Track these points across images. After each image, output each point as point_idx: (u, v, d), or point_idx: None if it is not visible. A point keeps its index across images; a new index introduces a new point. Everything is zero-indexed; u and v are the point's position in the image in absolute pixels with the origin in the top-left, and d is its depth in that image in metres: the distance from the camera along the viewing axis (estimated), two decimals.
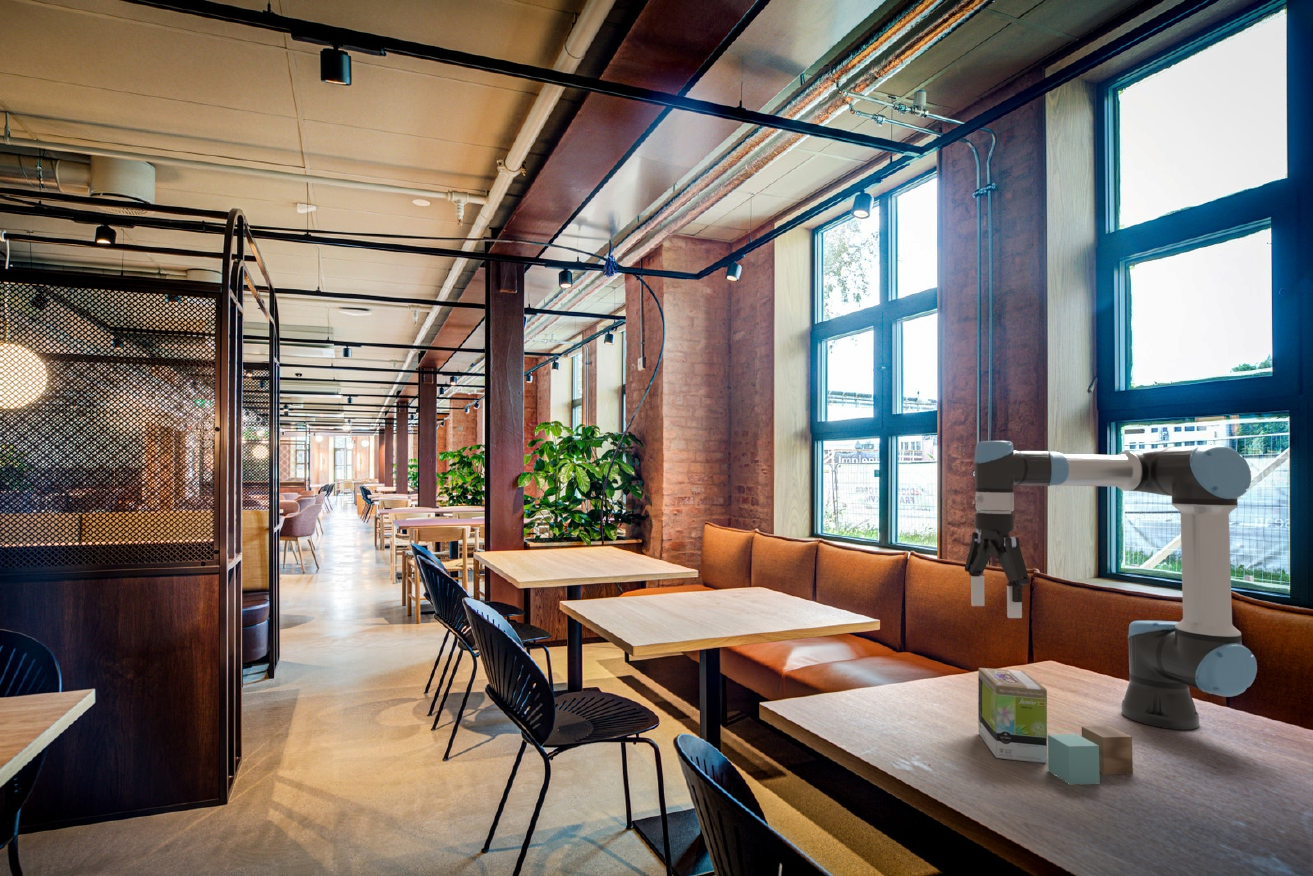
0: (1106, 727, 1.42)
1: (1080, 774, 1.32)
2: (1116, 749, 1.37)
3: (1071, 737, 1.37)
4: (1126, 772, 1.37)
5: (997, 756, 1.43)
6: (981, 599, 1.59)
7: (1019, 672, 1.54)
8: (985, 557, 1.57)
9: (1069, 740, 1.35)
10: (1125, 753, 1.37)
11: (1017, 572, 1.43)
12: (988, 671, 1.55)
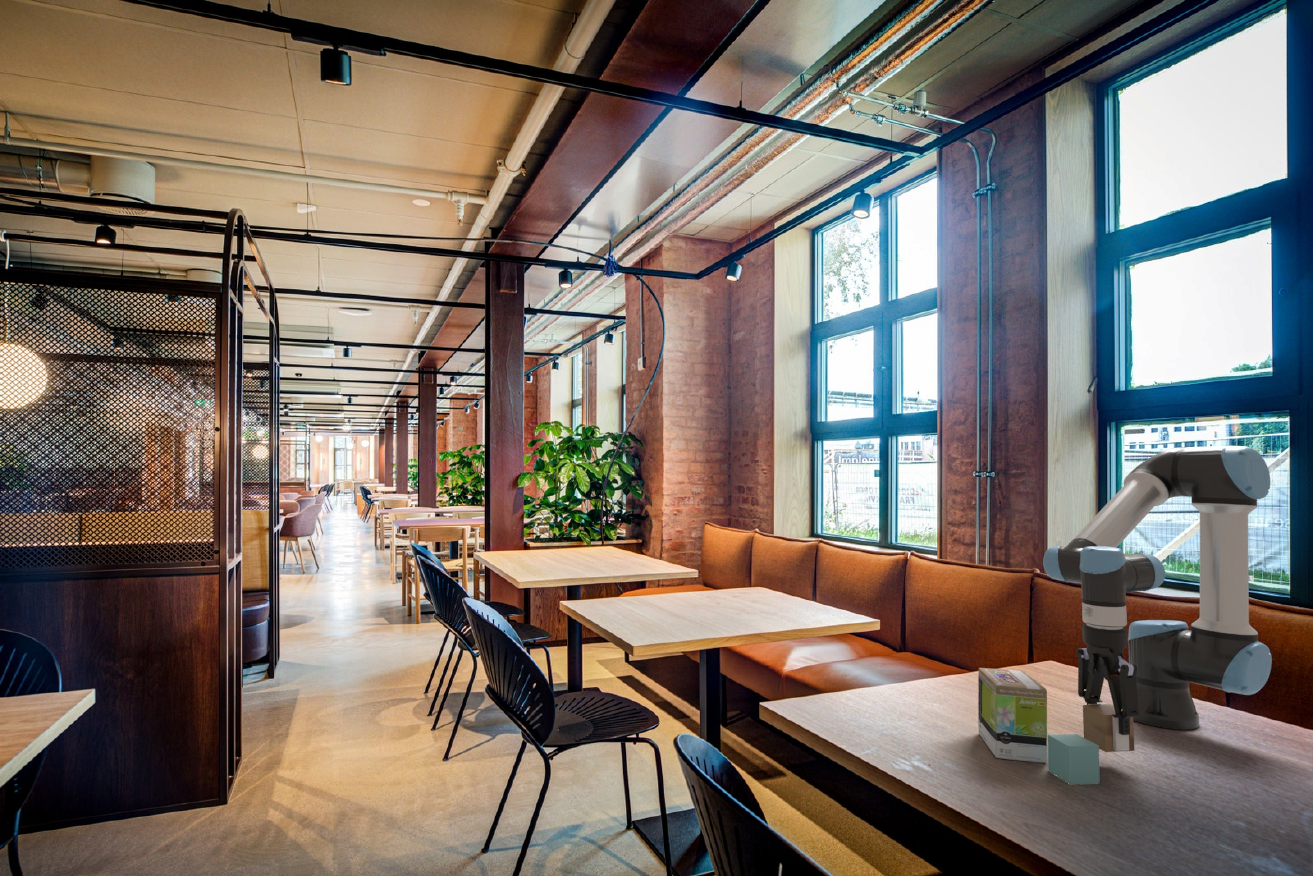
0: (1107, 705, 1.43)
1: (1080, 774, 1.32)
2: None
3: (1071, 737, 1.37)
4: None
5: (997, 756, 1.43)
6: None
7: (1019, 672, 1.54)
8: (1099, 677, 1.43)
9: (1069, 740, 1.35)
10: None
11: (1127, 706, 1.34)
12: (988, 671, 1.55)
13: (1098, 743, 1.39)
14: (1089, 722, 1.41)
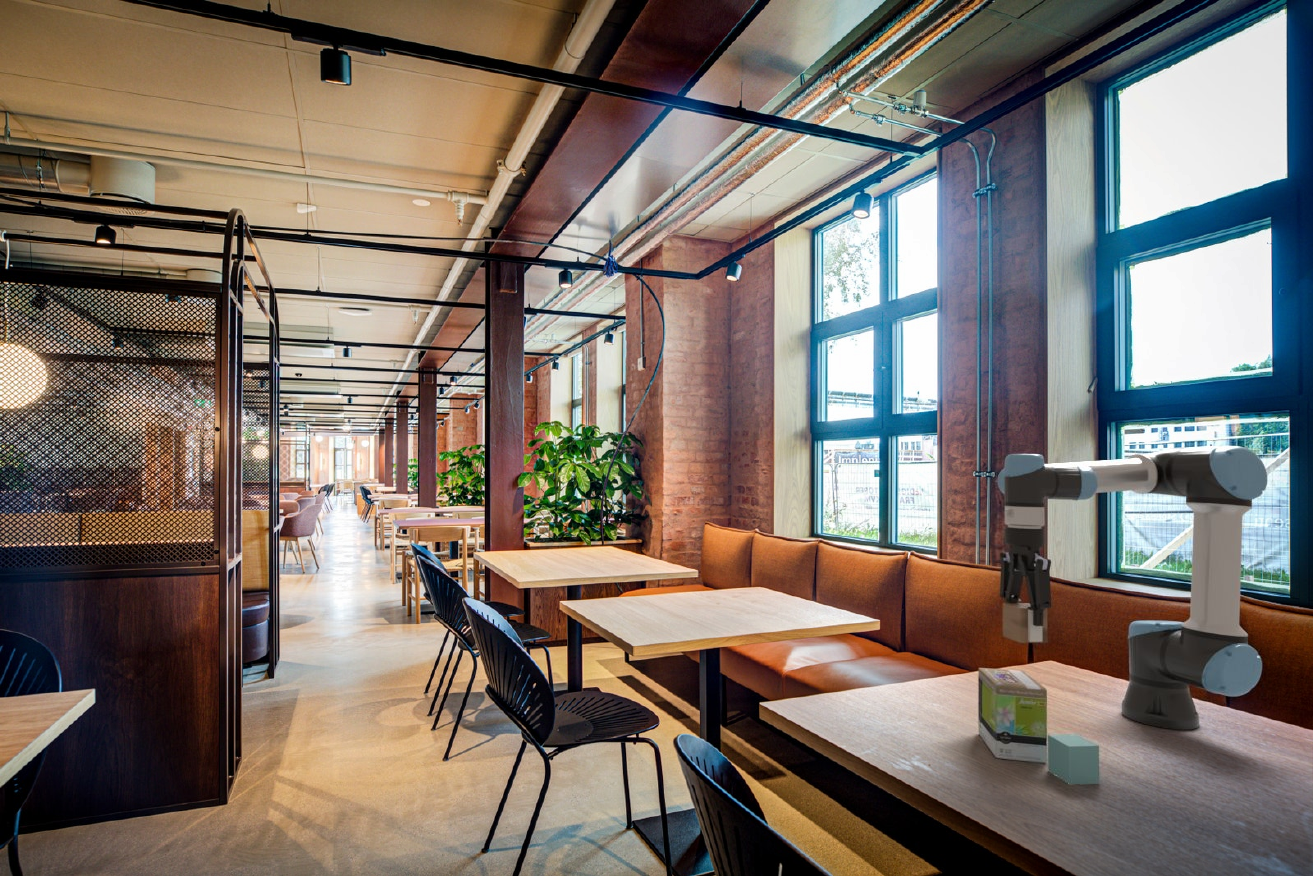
0: (1025, 603, 1.52)
1: (1080, 774, 1.32)
2: None
3: (1071, 737, 1.37)
4: None
5: (997, 756, 1.43)
6: None
7: (1019, 672, 1.54)
8: (1018, 576, 1.51)
9: (1069, 740, 1.35)
10: None
11: (1041, 597, 1.43)
12: (988, 671, 1.55)
13: (1014, 636, 1.47)
14: (1007, 618, 1.50)
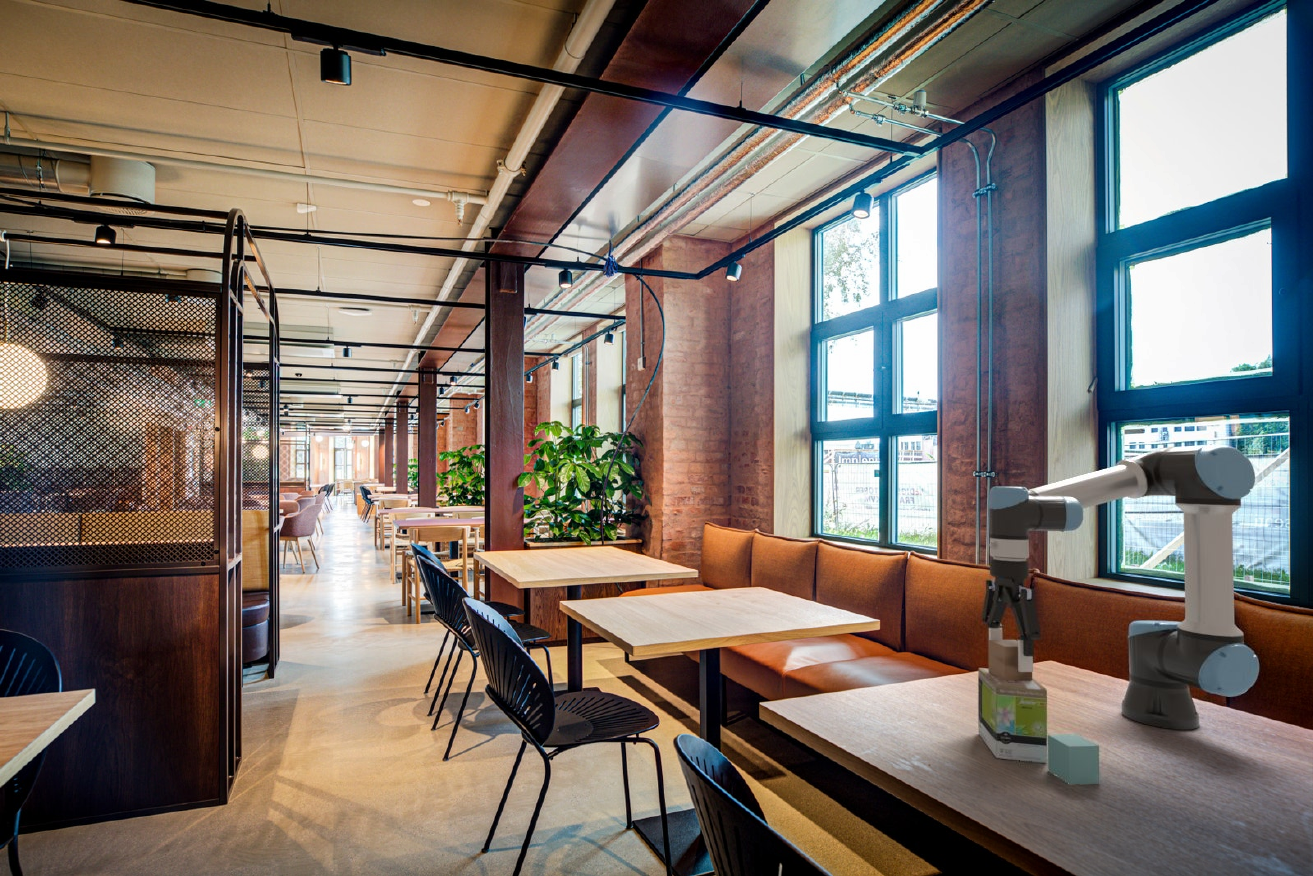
0: (1011, 640, 1.53)
1: (1080, 774, 1.32)
2: (1017, 657, 1.48)
3: (1071, 737, 1.37)
4: (1026, 679, 1.47)
5: (997, 756, 1.43)
6: None
7: None
8: (1001, 605, 1.54)
9: (1069, 740, 1.35)
10: None
11: (1029, 627, 1.43)
12: (988, 671, 1.55)
13: (999, 673, 1.49)
14: (993, 655, 1.51)
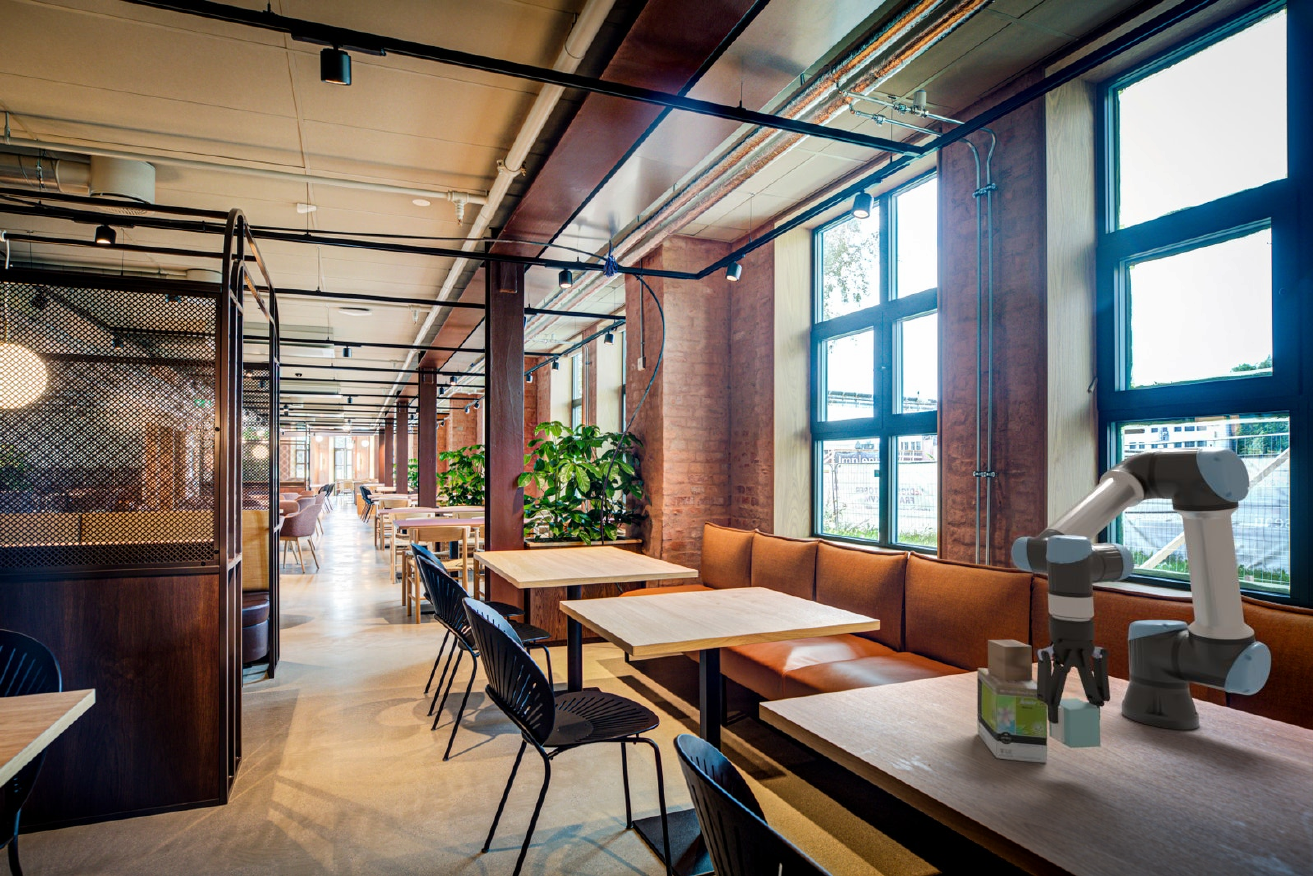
0: (1010, 640, 1.53)
1: (1081, 737, 1.32)
2: (1017, 657, 1.47)
3: (1071, 701, 1.37)
4: (1026, 679, 1.47)
5: (997, 756, 1.43)
6: None
7: None
8: (1082, 673, 1.36)
9: (1070, 704, 1.36)
10: (1025, 661, 1.48)
11: (1037, 688, 1.36)
12: (987, 671, 1.55)
13: (999, 673, 1.49)
14: (993, 655, 1.51)
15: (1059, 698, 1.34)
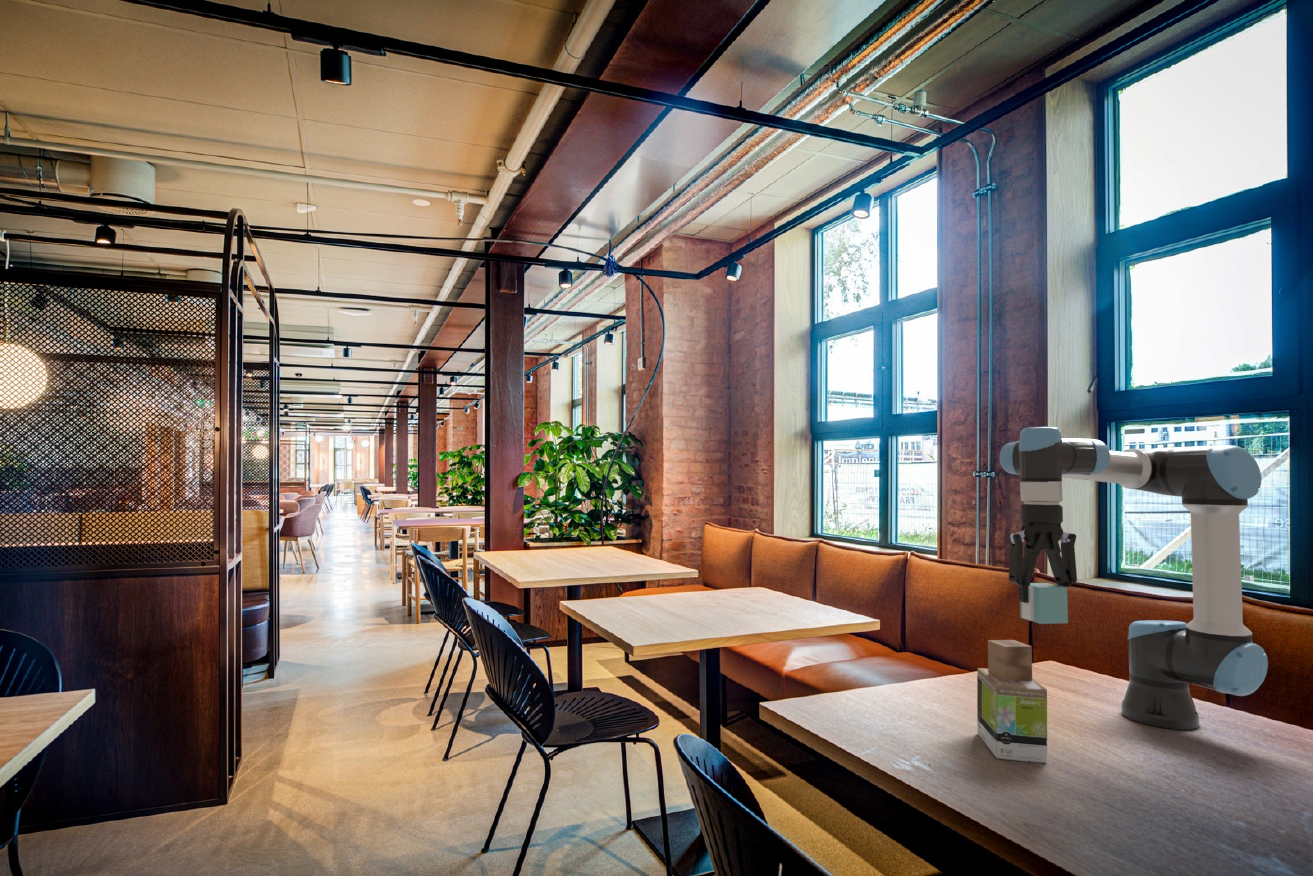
0: (1010, 640, 1.53)
1: (1049, 613, 1.40)
2: (1017, 658, 1.47)
3: (1041, 584, 1.45)
4: (1026, 679, 1.47)
5: (998, 756, 1.43)
6: None
7: None
8: (1051, 556, 1.44)
9: (1040, 585, 1.43)
10: (1025, 661, 1.47)
11: (1009, 570, 1.43)
12: (987, 671, 1.55)
13: (999, 674, 1.49)
14: (993, 655, 1.51)
15: (1029, 578, 1.41)
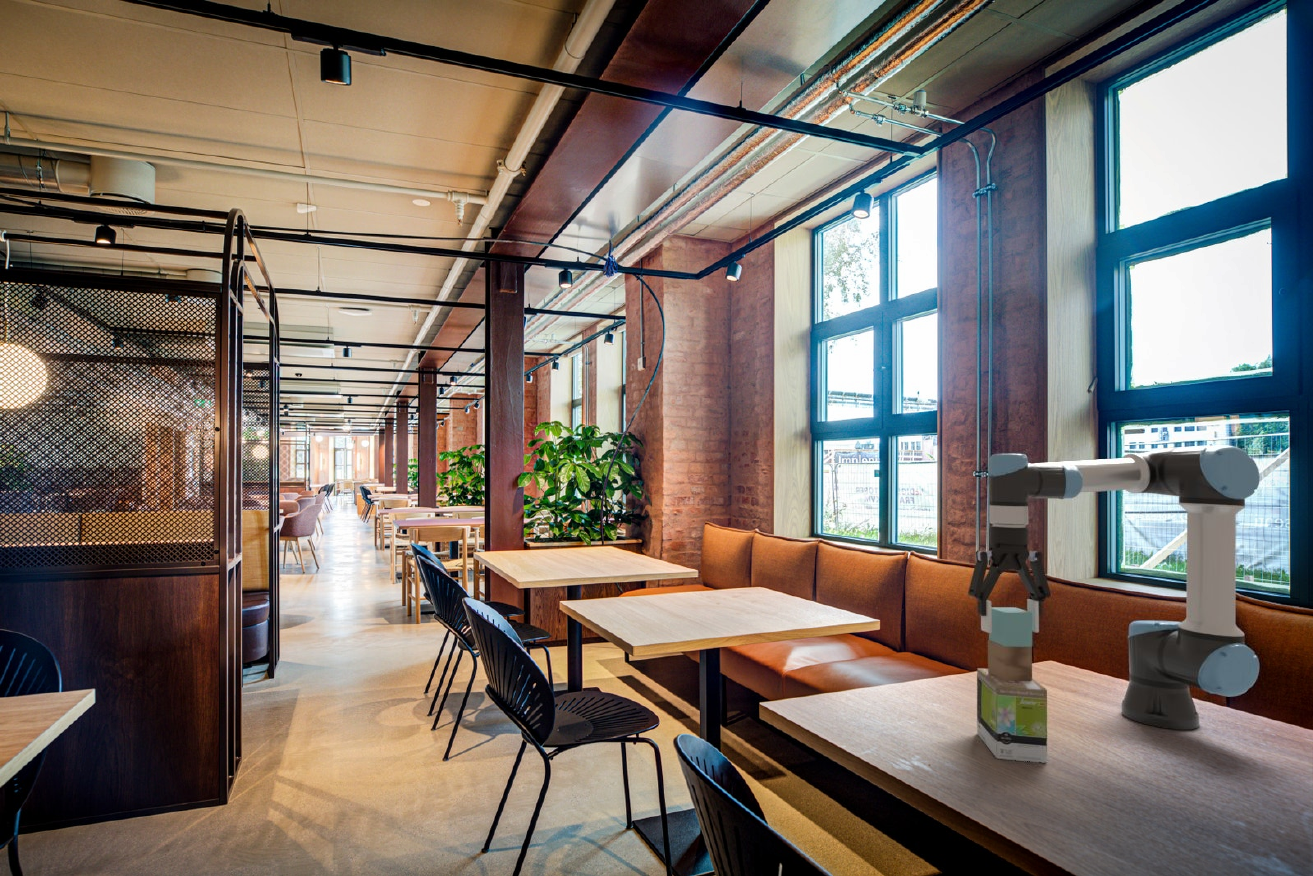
0: None
1: (1014, 637, 1.48)
2: (1017, 658, 1.47)
3: (1009, 608, 1.52)
4: (1026, 679, 1.47)
5: (998, 757, 1.43)
6: (1033, 624, 1.51)
7: None
8: (1022, 575, 1.52)
9: (1007, 610, 1.51)
10: (1025, 661, 1.48)
11: (970, 585, 1.51)
12: (987, 671, 1.55)
13: (999, 674, 1.49)
14: (993, 655, 1.51)
15: (988, 593, 1.49)
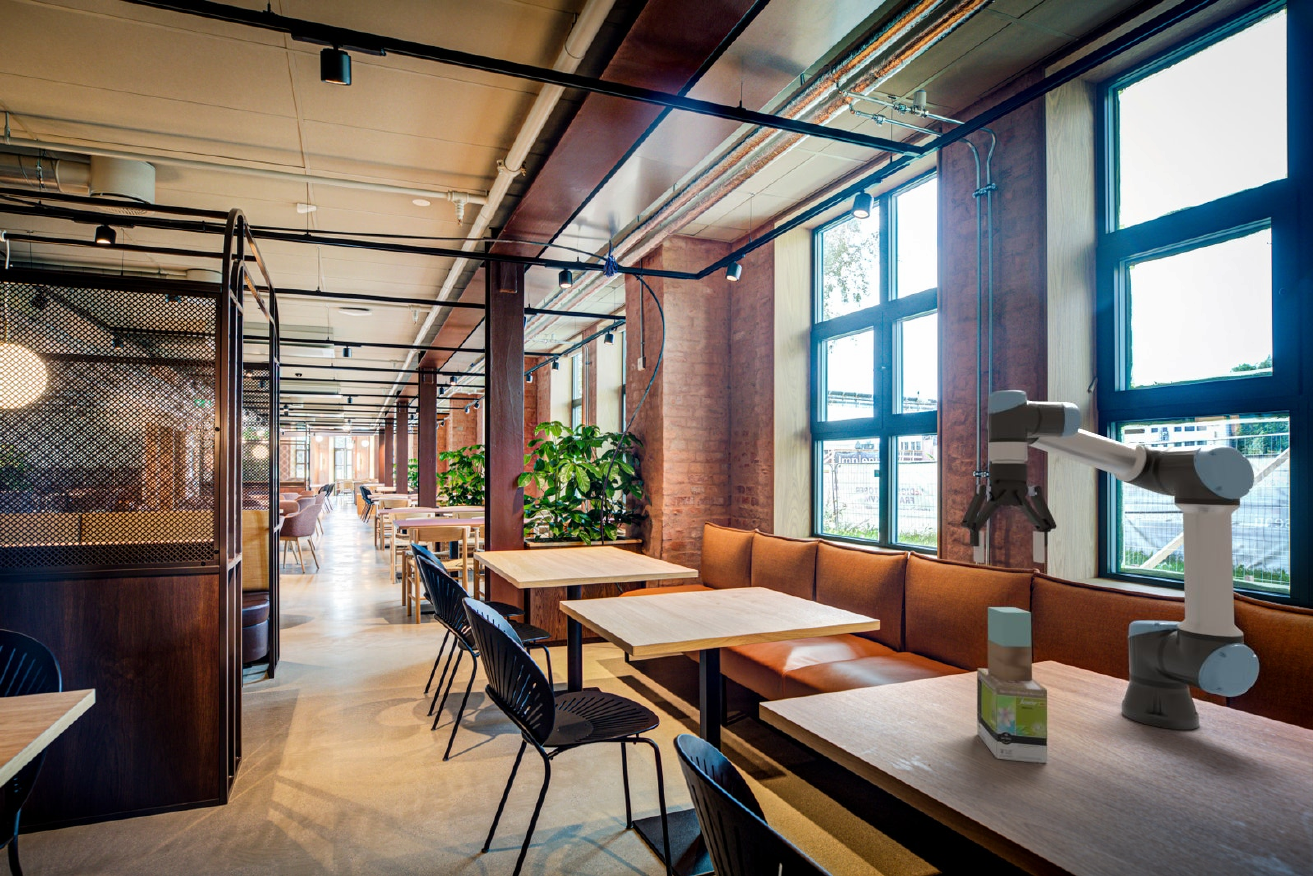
0: None
1: (1013, 637, 1.47)
2: (1017, 657, 1.47)
3: (1008, 608, 1.52)
4: (1026, 679, 1.47)
5: (998, 757, 1.43)
6: (1039, 555, 1.51)
7: None
8: (1024, 510, 1.52)
9: (1006, 609, 1.51)
10: (1025, 661, 1.47)
11: (964, 516, 1.52)
12: (987, 671, 1.54)
13: (999, 674, 1.49)
14: (992, 655, 1.51)
15: (981, 525, 1.50)
